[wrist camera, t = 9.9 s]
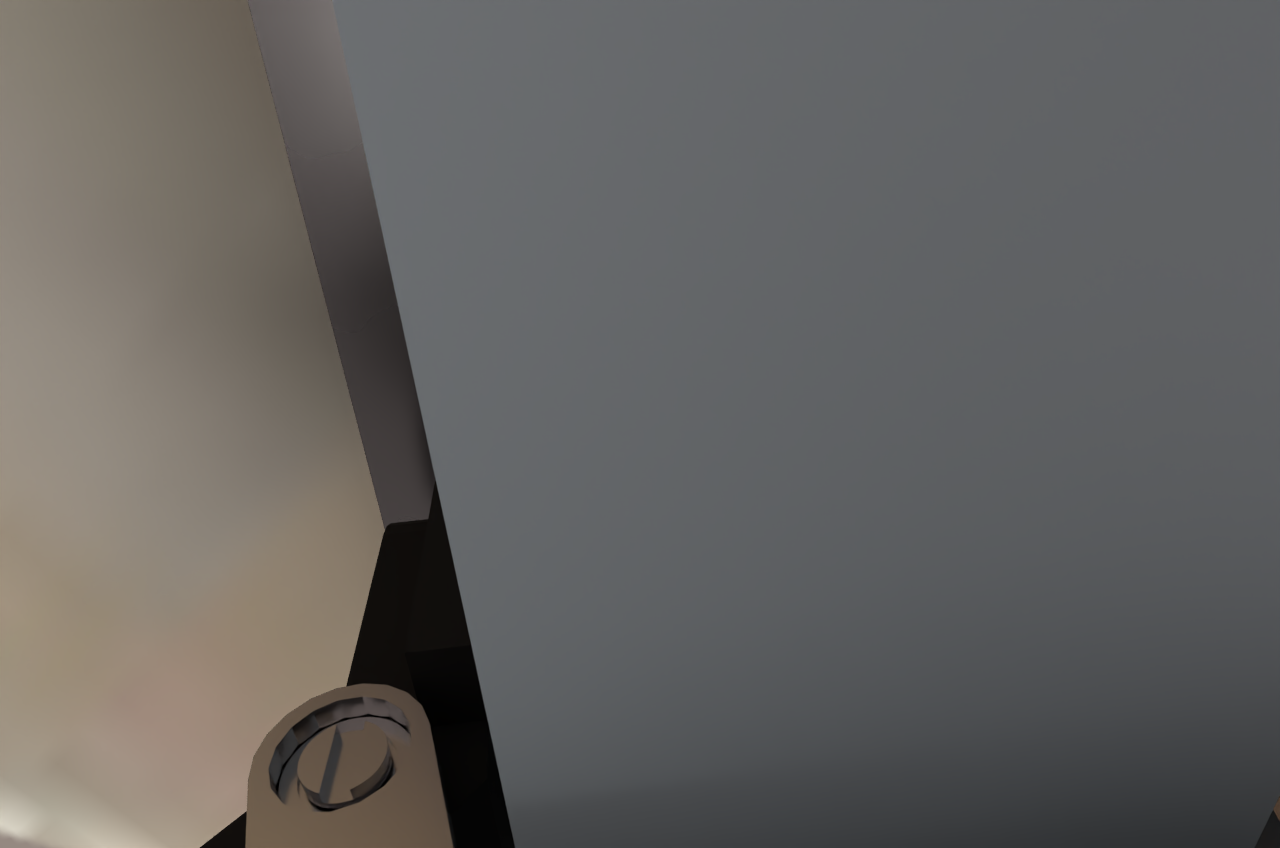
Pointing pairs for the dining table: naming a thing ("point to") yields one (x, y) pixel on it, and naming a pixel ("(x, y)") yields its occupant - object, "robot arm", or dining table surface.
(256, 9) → the rack
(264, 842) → the robot arm
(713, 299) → the plate
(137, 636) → the dining table surface
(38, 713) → the dining table surface
